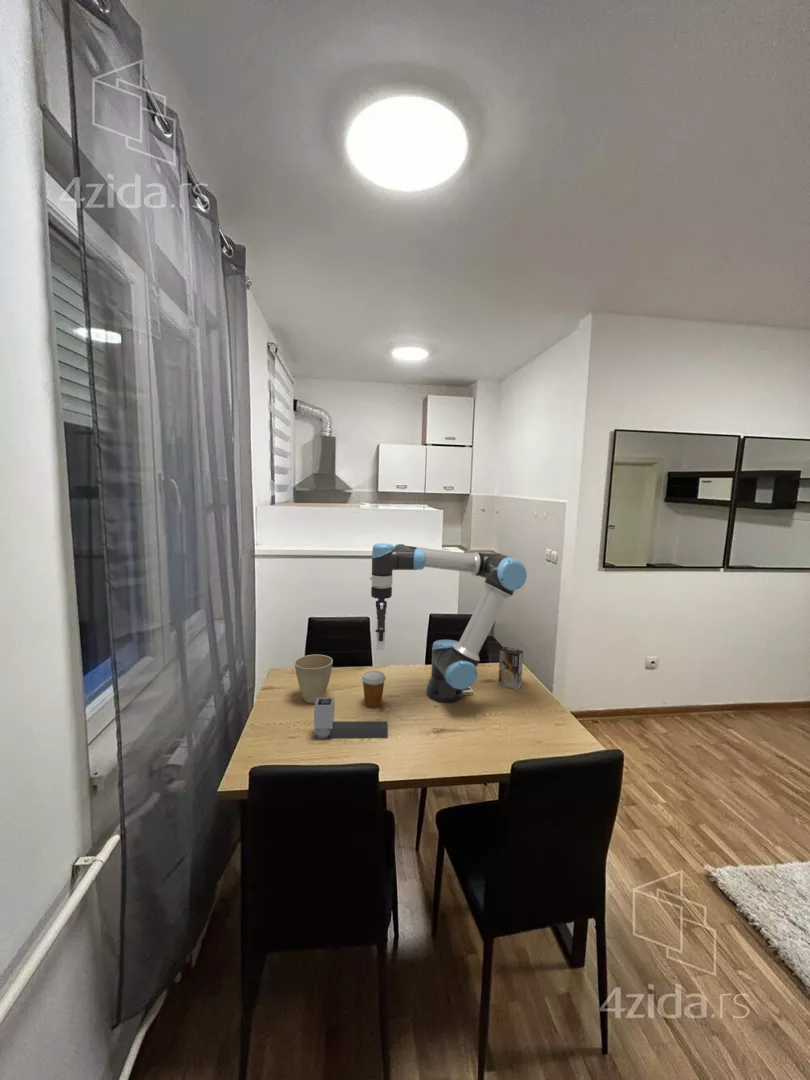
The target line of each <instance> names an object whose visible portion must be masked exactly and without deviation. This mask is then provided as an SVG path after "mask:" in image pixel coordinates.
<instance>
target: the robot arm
mask: <svg viewBox="0 0 810 1080" xmlns="http://www.w3.org/2000/svg"><path fill="white" fill-rule="evenodd" d="M425 568H431V569H439V570H447V571H455V572H464V573H470V574H471V575H472V576H477V577H481V578H484V579H485V580H484V582H483V584H484V586H485V589H484V591H483V593H482V595H481V597H480V599H479V601H478V603H477V605H476V607H475V609H474V611H473V613H472V615H471V617H470V619H469V621H468V623H467V625H466V627H465V629H464V630H463V633H462V635H461V637H460V639H459V641H458V640H454V639H438V640H435V641H434V642H433V643H432V648H431V650H432V652H431V676H430V678H429V680H428V684H427V686H426V696H427V697H428V698H429V699H431V700H432V701H435V702H439V703H447V704H448V703H455V702H458V701H460V700H461V699H462V698H463V692H464V690H465V689H469V688H470V687H472V685H474V684H475V682H477V678H478V670H477V667H478V665H479V663H480V660H481V659H480V655H479V654H480V652H481V650H482V647H483V645H484V644H485V641H486V640H487V637H488V636H489V634H490V631H491V629H492V627H493V625H494V624H495V622H496V620H497V617H498V616H499V614H500V611H501V610H502V608H503V605H504V604H505V601H506V599H509V598H512V597H513V595H514V593H515V591H518V590H519V589H521V588H522V587H523V586H524V585H525V584H526V580H527V578H528V577H527V576H528V574H527V569H526V566H525V565H524V564H523V562H521V561H520V560H518V559H516V558H514V557H512V556H508V555H506V554H505V555H504V554H502V553H496V552H495V553H493V552H492V553H489V552H476V551H475V552H474V553H465V552H457V551H450V550H442V549H436V548H427V547H419V546H412V545H405V544H404V543H398V544H395V545H393V544H391V543H385V542H384V543H381V542H380V543H379V542H378V543H374V544H373V546H372V553H371V576H370V577H369V580H370V581H371V589H370V590H371V591H370V596H371V597H372V598H374V599H377V600H376V601H375V608H376V629H375V633H376V651H384V650H385V645H386V644H385V642H386V641H385V639H386V614H387V608H388V605H387V604H388V602H387V600H385V599H390V598H392V596H393V588H392V586H393V571H420V570H424V569H425Z"/></svg>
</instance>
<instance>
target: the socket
mask: <svg viewBox="0 0 810 1080" xmlns="http://www.w3.org/2000/svg"><path fill="white" fill-rule="evenodd" d="M335 701H336V700H335V697H324V698H316V702H315V703H314V707H313V709H314V711H313V730H314V729H333V723H334V722H335Z"/></svg>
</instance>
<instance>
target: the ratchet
mask: <svg viewBox="0 0 810 1080" xmlns="http://www.w3.org/2000/svg"><path fill="white" fill-rule="evenodd" d="M388 725H389V723H388V720H385V721H383V720H379V721H377V720H373V721H369V720H368V721H334V723H333V729H314V728H313V731H314V732H313V733H314V734H313V737H314V738H315V739H316V740H319V741H326V740H330V739H388V737H389V736H388V731H389V727H388Z"/></svg>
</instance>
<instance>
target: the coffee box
mask: <svg viewBox="0 0 810 1080" xmlns="http://www.w3.org/2000/svg"><path fill="white" fill-rule="evenodd" d="M523 661H524V650H522V649H518V648H513V647H508V646H503V647H502V648H501V649H500V650H499V664H498V683H497V684H499V685H498V686H501V685H502V686H501V687H505V686H506V687H505V688H509V687H510V689H512V688H513V689H514V690H516V689H518V690H519V689H520V688H521V687H522V683H523V682H522V681H523V665H524V664H523V663H524V662H523Z"/></svg>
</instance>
